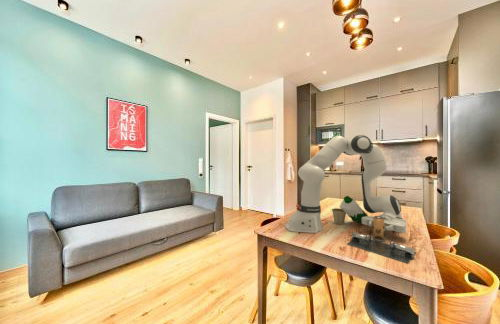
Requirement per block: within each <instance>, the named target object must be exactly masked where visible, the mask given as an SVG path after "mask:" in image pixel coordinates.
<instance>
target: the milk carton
mask: <svg viewBox="0 0 500 324" xmlns="http://www.w3.org/2000/svg"><path fill="white" fill-rule="evenodd" d="M338 207H339V209H342V210H343V211H344V212H345V213H346V215H347V216H348V217H349V218H350V219H351V221H353V222H354V223H358V224H360V225H363V224H362V217H365V216H369V215H368V214H367V213H366V212H365V210H364V209H363V208H362V207H361V206H360V205H359V204H358V203H357V200H356V198H352V197H350V196H348V195H345V196H344V198H343V199H342V201H341V203H340V205H339V206H338Z"/></svg>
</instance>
